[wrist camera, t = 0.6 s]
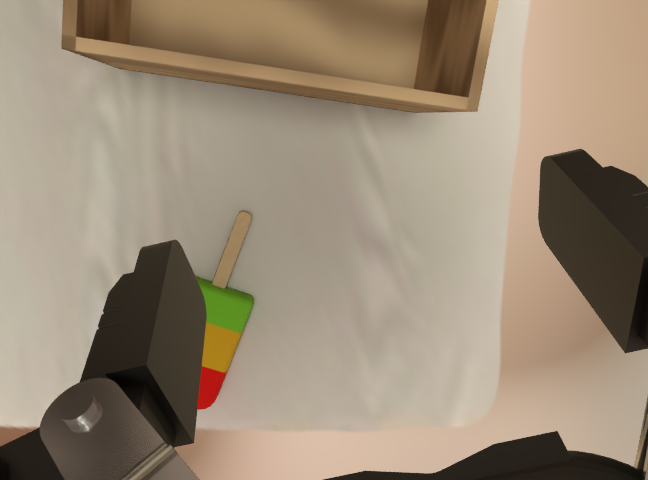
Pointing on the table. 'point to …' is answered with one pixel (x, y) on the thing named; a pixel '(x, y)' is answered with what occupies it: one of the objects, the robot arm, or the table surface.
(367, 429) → the table surface
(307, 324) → the table surface
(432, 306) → the table surface
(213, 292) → the popsicle
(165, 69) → the brown wooden box
